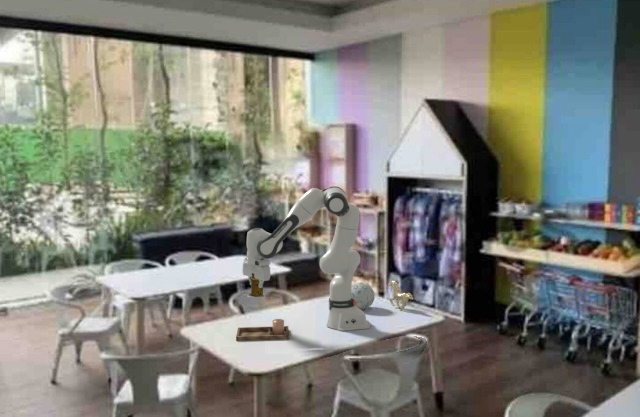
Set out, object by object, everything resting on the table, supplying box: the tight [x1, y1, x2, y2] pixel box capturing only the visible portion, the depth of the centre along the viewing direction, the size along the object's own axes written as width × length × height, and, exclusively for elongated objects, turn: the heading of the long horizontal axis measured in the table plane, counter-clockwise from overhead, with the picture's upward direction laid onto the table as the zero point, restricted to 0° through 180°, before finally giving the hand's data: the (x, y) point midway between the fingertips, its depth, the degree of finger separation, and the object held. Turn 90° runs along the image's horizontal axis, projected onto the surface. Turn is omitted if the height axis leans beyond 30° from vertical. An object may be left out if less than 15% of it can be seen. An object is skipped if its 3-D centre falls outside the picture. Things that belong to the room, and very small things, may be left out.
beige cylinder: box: [271, 318, 285, 335], centre depth 280 cm, size 6×6×7 cm
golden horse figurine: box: [388, 277, 414, 311], centre depth 324 cm, size 20×4×17 cm, turn 35°
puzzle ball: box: [351, 282, 375, 310], centre depth 325 cm, size 15×15×15 cm
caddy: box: [235, 325, 290, 342], centre depth 280 cm, size 25×14×2 cm, turn 94°
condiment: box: [246, 273, 265, 298], centre depth 294 cm, size 7×8×12 cm
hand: (256, 286), depth 294 cm, fingers closed on condiment, 6 cm apart
